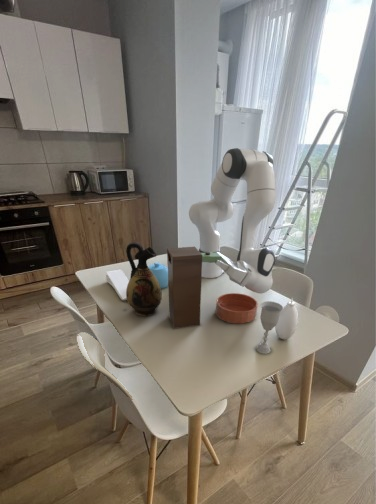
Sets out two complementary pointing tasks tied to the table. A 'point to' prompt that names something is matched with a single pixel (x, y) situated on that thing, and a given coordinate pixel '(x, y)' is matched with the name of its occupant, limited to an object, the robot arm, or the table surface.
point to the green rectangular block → (210, 257)
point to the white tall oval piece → (287, 321)
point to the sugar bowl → (160, 274)
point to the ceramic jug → (142, 282)
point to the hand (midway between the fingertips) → (212, 257)
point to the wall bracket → (118, 282)
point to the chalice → (268, 322)
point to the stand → (184, 286)
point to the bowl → (236, 308)
